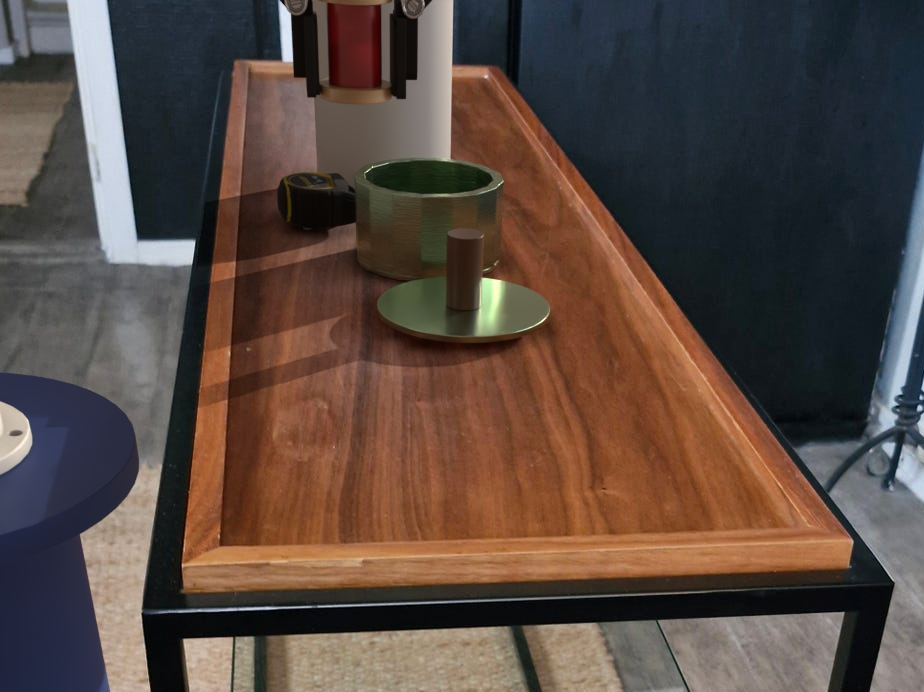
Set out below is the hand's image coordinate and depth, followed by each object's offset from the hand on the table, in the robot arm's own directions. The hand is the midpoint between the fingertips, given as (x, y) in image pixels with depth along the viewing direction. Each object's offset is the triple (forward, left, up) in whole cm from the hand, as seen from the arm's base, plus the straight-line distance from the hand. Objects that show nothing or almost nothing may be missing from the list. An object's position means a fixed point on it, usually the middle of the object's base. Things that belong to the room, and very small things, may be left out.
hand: (355, 89), depth 69 cm
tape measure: (-1, +35, -17) cm, 39 cm away
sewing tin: (+7, +25, -17) cm, 31 cm away
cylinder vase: (+5, +46, -17) cm, 49 cm away
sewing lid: (+8, +11, -17) cm, 22 cm away
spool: (0, 0, 0) cm, 0 cm away
